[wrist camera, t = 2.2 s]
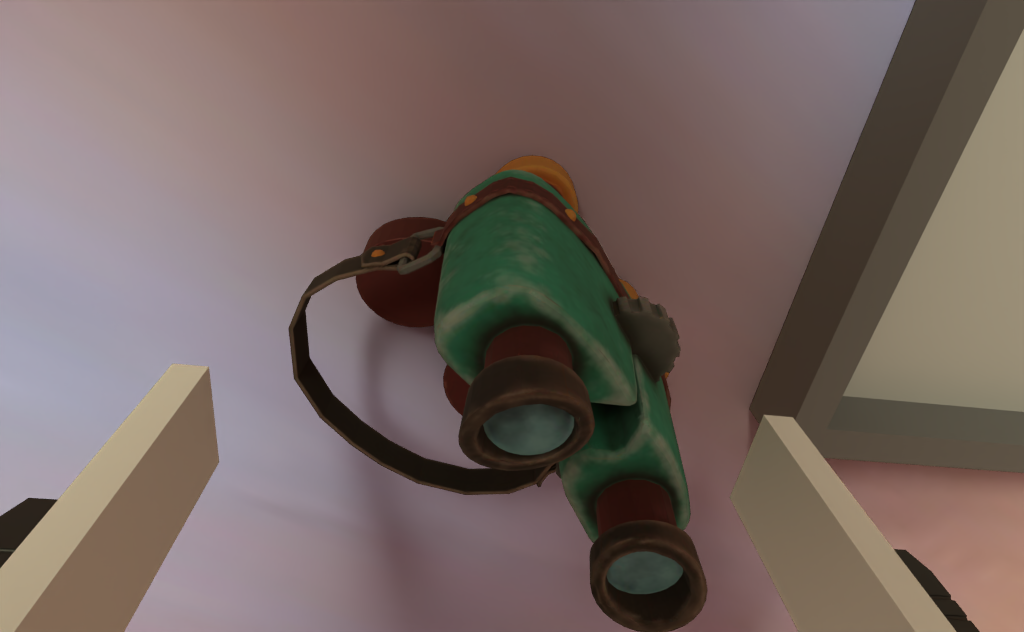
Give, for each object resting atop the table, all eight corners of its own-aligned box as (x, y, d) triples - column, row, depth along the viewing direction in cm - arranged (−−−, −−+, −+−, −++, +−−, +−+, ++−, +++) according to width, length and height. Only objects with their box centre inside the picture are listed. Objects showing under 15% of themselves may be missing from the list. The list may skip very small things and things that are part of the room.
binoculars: (86, 527, 10) (602, 261, 7) (295, 258, 19) (565, 91, 16) (398, 747, 14) (821, 630, 11) (451, 437, 23) (693, 328, 20)
